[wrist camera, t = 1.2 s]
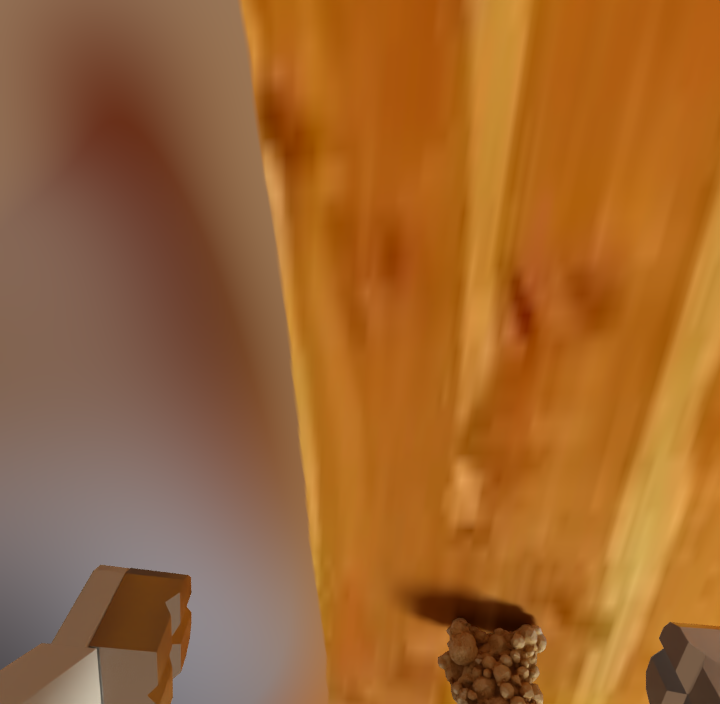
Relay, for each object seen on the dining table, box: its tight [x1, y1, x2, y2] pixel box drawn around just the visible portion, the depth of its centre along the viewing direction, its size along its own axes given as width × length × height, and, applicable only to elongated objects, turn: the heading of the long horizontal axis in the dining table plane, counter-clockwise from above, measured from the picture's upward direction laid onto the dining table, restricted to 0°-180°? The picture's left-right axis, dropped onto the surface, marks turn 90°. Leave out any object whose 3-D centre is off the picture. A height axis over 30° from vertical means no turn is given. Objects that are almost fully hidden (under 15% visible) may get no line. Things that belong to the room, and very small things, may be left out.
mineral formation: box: [438, 618, 546, 704], centre depth 76 cm, size 8×13×15 cm, turn 97°
